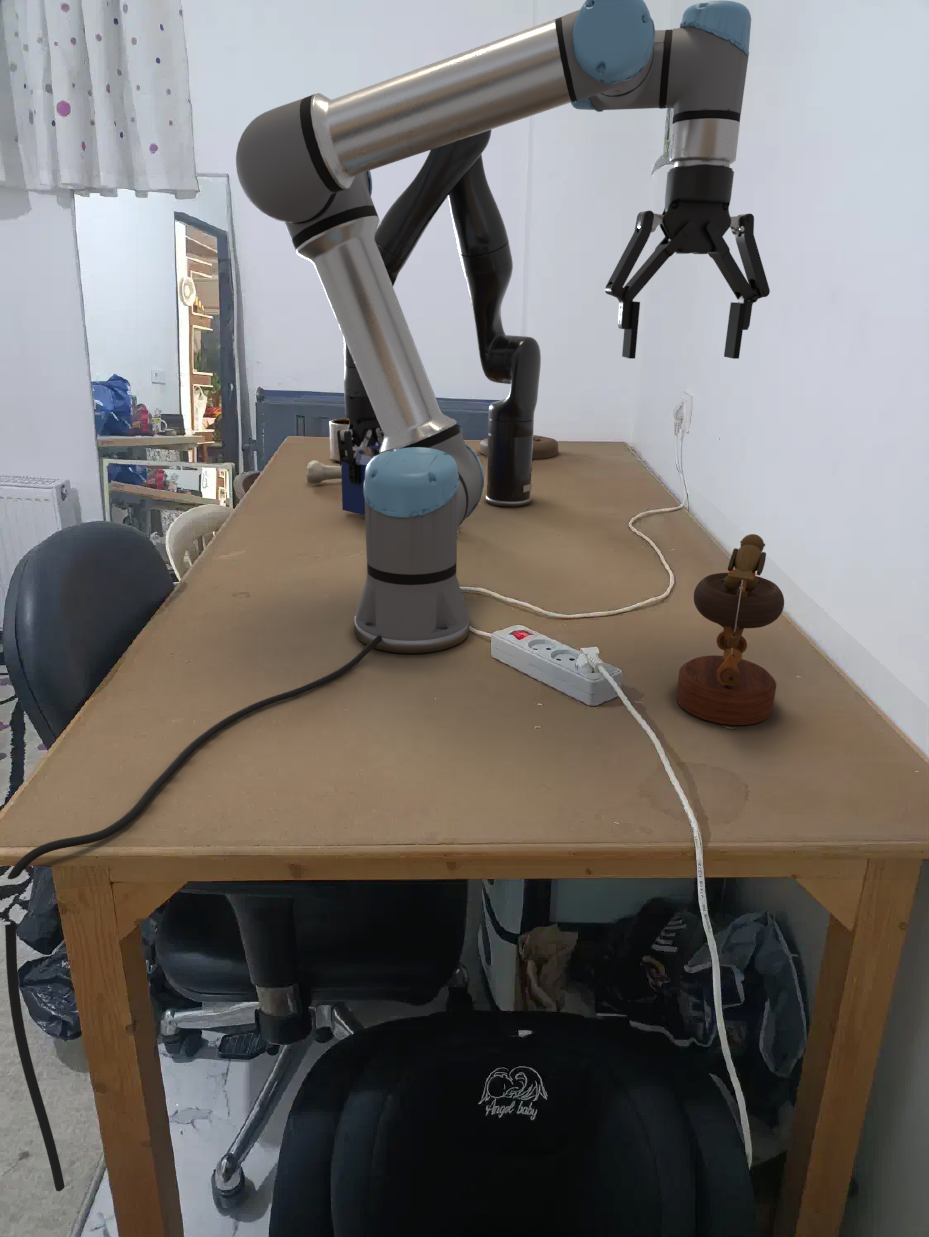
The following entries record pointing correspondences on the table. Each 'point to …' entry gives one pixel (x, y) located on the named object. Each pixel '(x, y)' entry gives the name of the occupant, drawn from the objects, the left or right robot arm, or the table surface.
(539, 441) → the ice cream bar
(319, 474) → the dog toy
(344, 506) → the box
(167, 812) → the table surface
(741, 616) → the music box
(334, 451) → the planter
